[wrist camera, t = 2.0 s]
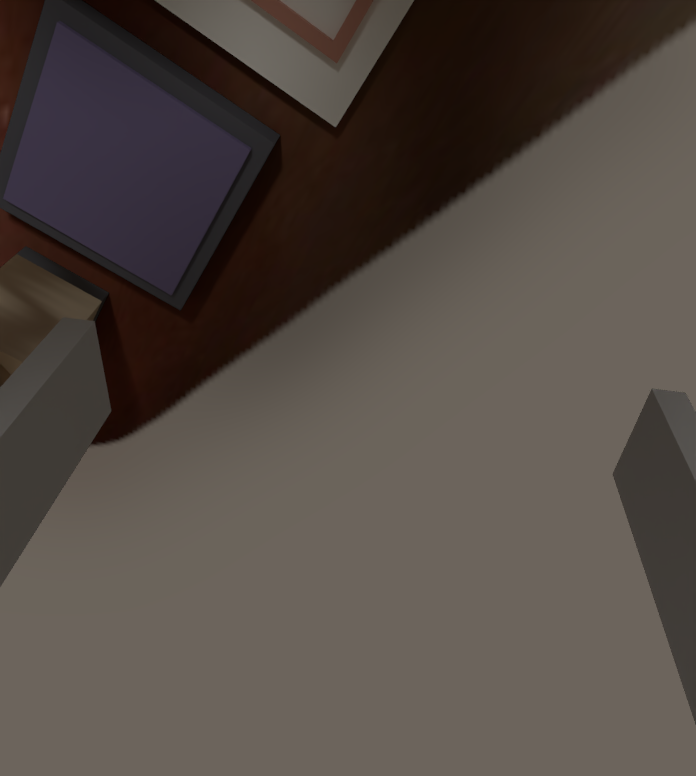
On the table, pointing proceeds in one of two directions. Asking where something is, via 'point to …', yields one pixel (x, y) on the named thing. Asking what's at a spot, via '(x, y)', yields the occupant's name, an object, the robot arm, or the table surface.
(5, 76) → the table surface
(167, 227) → the ink pad
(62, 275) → the stamp
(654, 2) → the table surface
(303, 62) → the print sheet
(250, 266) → the table surface
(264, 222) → the table surface
